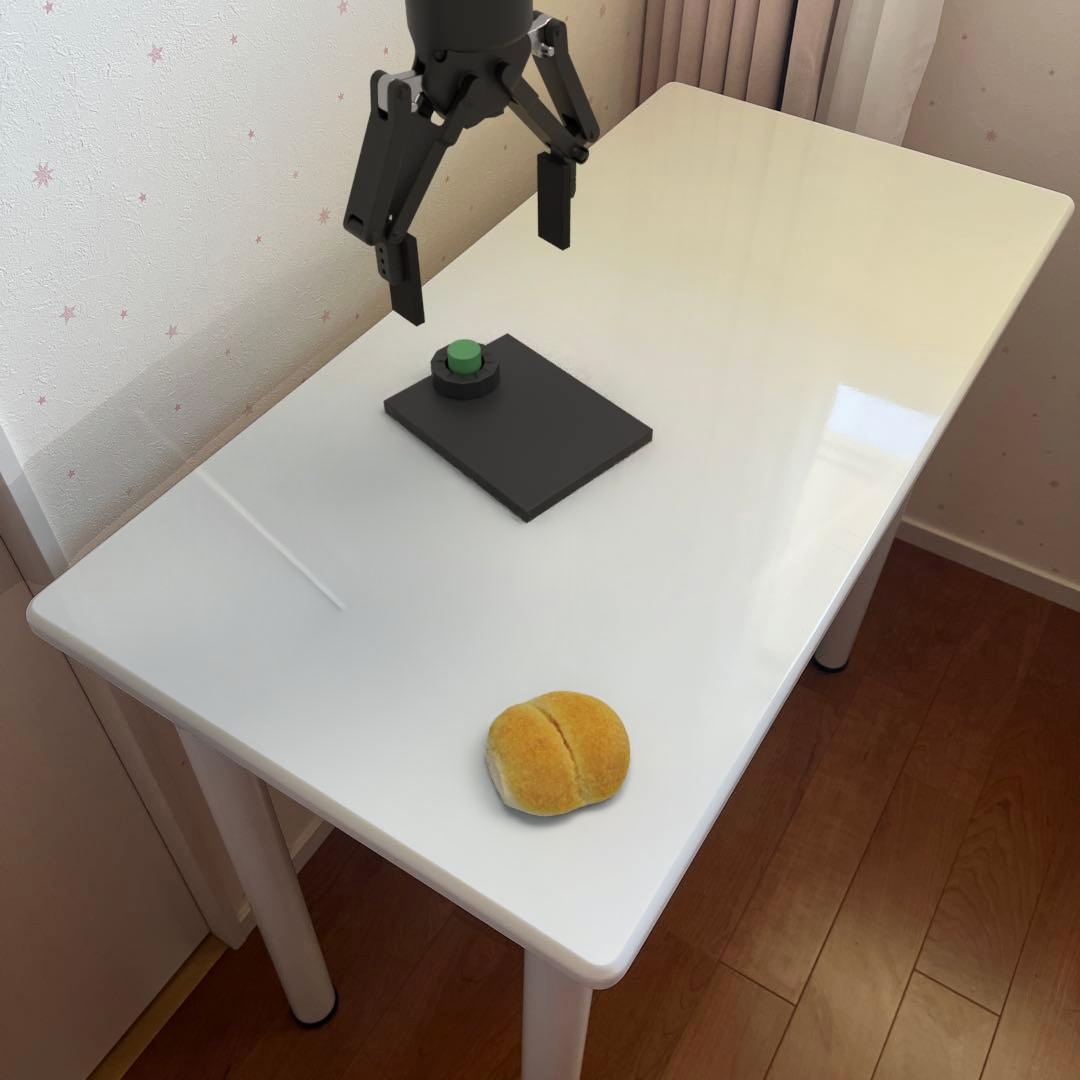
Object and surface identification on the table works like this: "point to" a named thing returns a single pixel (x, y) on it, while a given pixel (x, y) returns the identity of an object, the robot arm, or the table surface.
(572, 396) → the scale
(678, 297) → the table surface
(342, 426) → the table surface
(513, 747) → the bread roll
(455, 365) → the button
